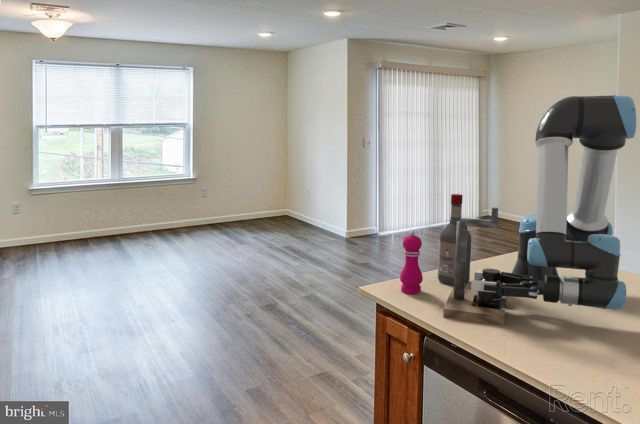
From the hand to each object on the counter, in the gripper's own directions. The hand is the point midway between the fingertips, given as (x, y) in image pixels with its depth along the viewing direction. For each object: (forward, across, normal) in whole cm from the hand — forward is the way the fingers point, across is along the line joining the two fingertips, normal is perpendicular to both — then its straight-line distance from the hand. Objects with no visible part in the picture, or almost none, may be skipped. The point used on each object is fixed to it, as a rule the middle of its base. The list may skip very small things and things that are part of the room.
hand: (473, 280), depth 145 cm
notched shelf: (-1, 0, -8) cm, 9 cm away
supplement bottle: (-5, 0, -9) cm, 10 cm away
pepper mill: (+20, +9, -9) cm, 23 cm away
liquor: (+8, +24, -9) cm, 27 cm away
